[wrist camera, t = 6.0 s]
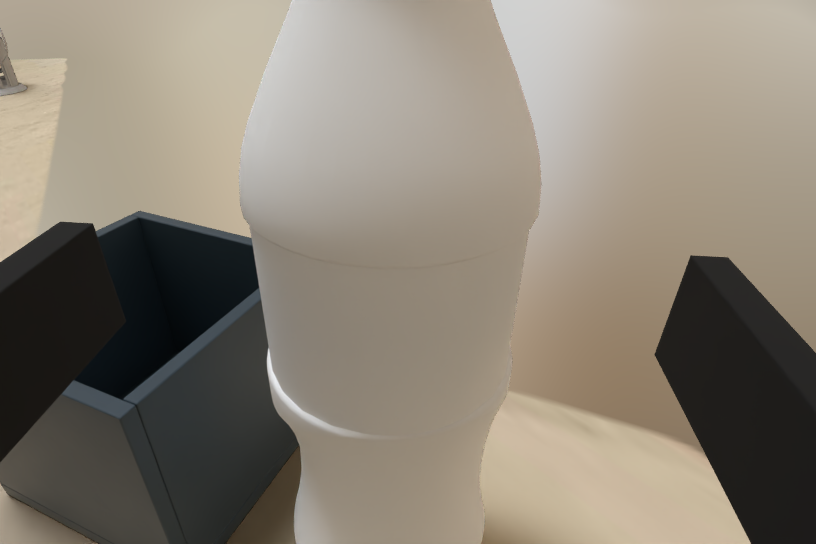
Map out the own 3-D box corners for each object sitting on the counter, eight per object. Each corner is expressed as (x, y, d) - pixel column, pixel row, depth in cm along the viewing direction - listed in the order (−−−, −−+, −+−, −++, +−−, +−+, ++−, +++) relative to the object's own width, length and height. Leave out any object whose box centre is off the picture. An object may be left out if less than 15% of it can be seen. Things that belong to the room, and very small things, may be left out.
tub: (189, 592, 20) (119, 418, 15) (6, 494, 23) (-102, 324, 18) (328, 405, 28) (315, 253, 23) (179, 353, 32) (139, 210, 27)
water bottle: (380, 457, 26) (373, -221, 12) (506, 545, 22) (691, -287, 9) (265, 572, 21) (50, -344, 7) (403, 710, 17) (461, -618, 4)
